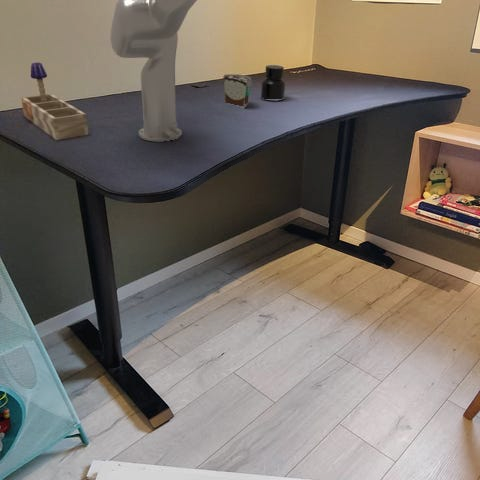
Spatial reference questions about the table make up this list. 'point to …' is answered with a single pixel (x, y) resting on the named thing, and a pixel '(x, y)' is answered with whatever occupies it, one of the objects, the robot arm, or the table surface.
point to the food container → (237, 89)
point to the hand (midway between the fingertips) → (139, 10)
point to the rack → (55, 116)
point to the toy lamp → (39, 78)
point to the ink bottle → (273, 83)
